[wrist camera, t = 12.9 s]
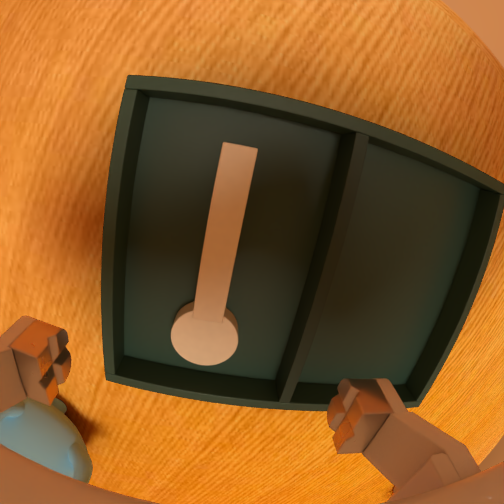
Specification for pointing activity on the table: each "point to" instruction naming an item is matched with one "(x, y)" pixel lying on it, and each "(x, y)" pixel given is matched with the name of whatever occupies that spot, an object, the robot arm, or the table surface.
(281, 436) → the table surface
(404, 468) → the robot arm
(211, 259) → the spoon
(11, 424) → the teapot
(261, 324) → the tray
